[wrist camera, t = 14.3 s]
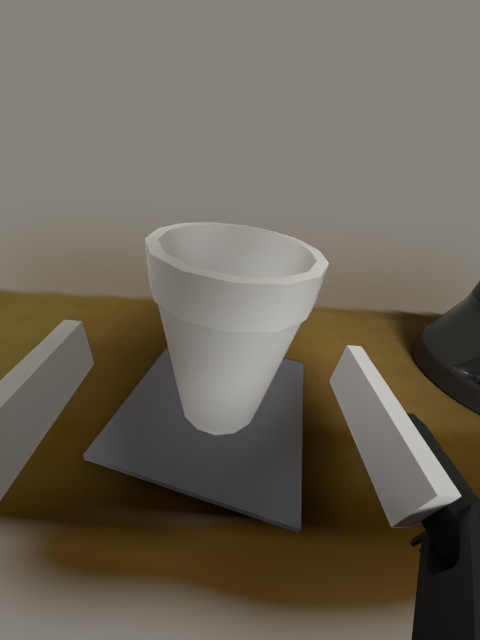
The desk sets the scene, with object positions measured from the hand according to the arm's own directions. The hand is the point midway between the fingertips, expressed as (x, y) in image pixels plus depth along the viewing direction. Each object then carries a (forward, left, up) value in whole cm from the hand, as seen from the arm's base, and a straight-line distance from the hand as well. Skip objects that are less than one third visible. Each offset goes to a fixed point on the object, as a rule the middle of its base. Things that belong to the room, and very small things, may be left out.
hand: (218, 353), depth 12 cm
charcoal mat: (0, -4, -9) cm, 10 cm away
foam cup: (0, -4, -9) cm, 9 cm away
